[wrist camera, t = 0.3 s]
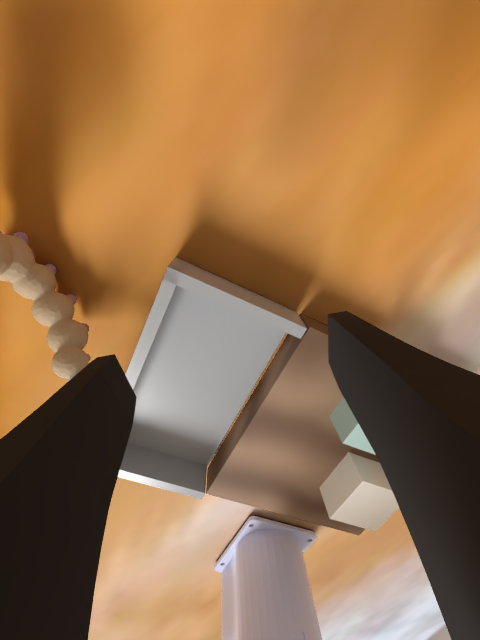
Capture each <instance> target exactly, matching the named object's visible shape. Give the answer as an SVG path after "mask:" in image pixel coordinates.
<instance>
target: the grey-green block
mask: <svg viewBox="0 0 480 640" xmlns="http://www.w3.org/2000/svg"><path fill="white" fill-rule="evenodd" d="M329 417H330V419H331V421H332V423H333V425H334V427H335V429H336V431H337V433H338V435H339V437H340V439H341V441H342V443H343V444H346V445H349V446H352V447H355V448H357V449H360V450H363V451H366V452H369V453H372V454H374V455H376V454H375V452H374V450H373V448H372V447H371V445H370V443H369V441H368V440H367V438H366V436H365V434H364V432H363V431H362V429H361V427H360V425H359V424H358V422H357V420H356V418H355V416H354V415H353V413H352V411H351V409H350V408H349V406H348V404H347V402H346V400H345V398H344V397H343V398H342V400H341V401H340V402H339V404H338V405H337V406H336V408H335V409H334V411H333V412H332V413H331V415H330V416H329Z"/></svg>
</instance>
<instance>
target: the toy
mask: <svg viewBox="0 0 480 640" xmlns="http://www.w3.org/2000/svg"><path fill="white" fill-rule="evenodd" d="M28 242H29V237H28V236H27V234H26V233H23V232H16V233H14V235H13V236H11V235H7V234H2V233H1V231H0V281H8V282H11V283H12V286H13V288H14V289H15V291H16V292H17V293H18V294H20V295H21V296H23V297H24V298H28V299H31V300H33V301H34V303H33V306H32V313H33V316H34V318H35V319H36V320H37V321H38V322H39V323H40V324H42V325H44V326H47V327H49V331H48V334H47V342H48V344H49V347H50V348H51V349H52V350H53V351H54V352H56V354H55V355H54V357H53V359H52V369H53V371H54V372H55V374H56V375H58V376H59V377H62V378H66V379H68V381H69V380H71V379H72V378H73V377H74V376H75V375H76V374H77V373H79V372H80V371H81V370H82V369H83V368H84V367H86V366H87V365H88V362H89V361H90V356H89V354H86V353H85V352H84V351H83V350H82V349H83V348H84V347H85V345H86V344H87V341H88V331H89V326H88V325H87V324H84V323H82V324H81V323H79V322H77V321H75V320H72V318H73V315H74V304H75V303H76V299H77V298H76V297H75V296H74V295H72V294H68V295H64V294H62V293H58V292H55V287H56V278H55V273H56V267H55V266H54V265H52V264H46V265H41V264H38V263H36V262H35V259H34V254H33V252H32V250H31V249H30V247H29V246H28V245H27V244H28Z"/></svg>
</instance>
